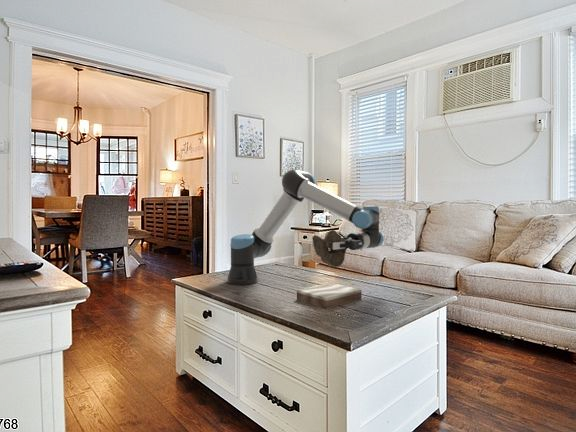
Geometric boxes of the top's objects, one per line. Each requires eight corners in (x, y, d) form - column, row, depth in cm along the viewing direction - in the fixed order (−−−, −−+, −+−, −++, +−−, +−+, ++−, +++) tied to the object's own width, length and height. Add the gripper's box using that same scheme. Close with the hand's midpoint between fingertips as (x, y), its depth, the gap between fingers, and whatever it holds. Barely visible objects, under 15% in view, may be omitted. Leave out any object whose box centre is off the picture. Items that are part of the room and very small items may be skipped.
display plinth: (296, 299, 151) (296, 289, 151) (331, 291, 165) (331, 282, 165) (326, 308, 139) (326, 298, 138) (361, 299, 152) (361, 289, 152)
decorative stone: (324, 269, 142) (324, 231, 141) (306, 265, 151) (306, 229, 150) (352, 265, 152) (353, 229, 151) (334, 262, 160) (334, 228, 160)
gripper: (379, 252, 154) (344, 257, 140) (337, 247, 172) (303, 251, 157) (379, 234, 154) (345, 237, 139) (337, 231, 171) (303, 233, 157)
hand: (322, 244), depth 148 cm, fingers closed on decorative stone, 11 cm apart
